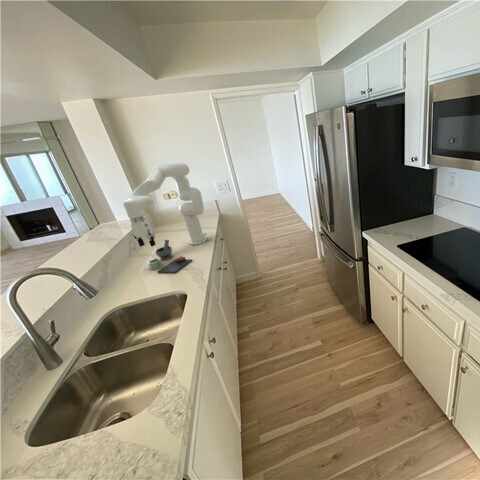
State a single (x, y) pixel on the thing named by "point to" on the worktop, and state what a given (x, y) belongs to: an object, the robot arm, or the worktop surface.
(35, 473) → the worktop surface
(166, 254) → the mortar and pestle
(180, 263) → the scale
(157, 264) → the bowl
